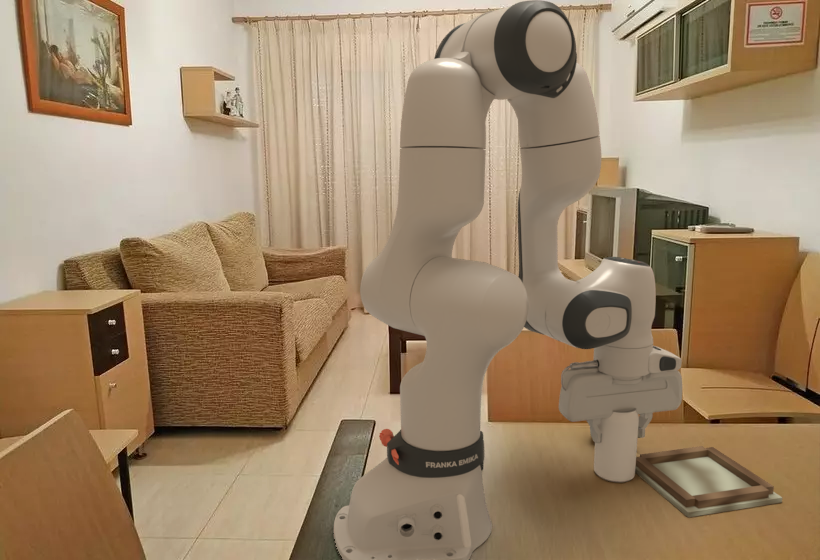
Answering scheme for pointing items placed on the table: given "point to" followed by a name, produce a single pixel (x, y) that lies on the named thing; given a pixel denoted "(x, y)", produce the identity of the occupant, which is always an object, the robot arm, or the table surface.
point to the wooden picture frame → (703, 481)
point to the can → (617, 447)
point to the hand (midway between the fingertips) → (618, 439)
